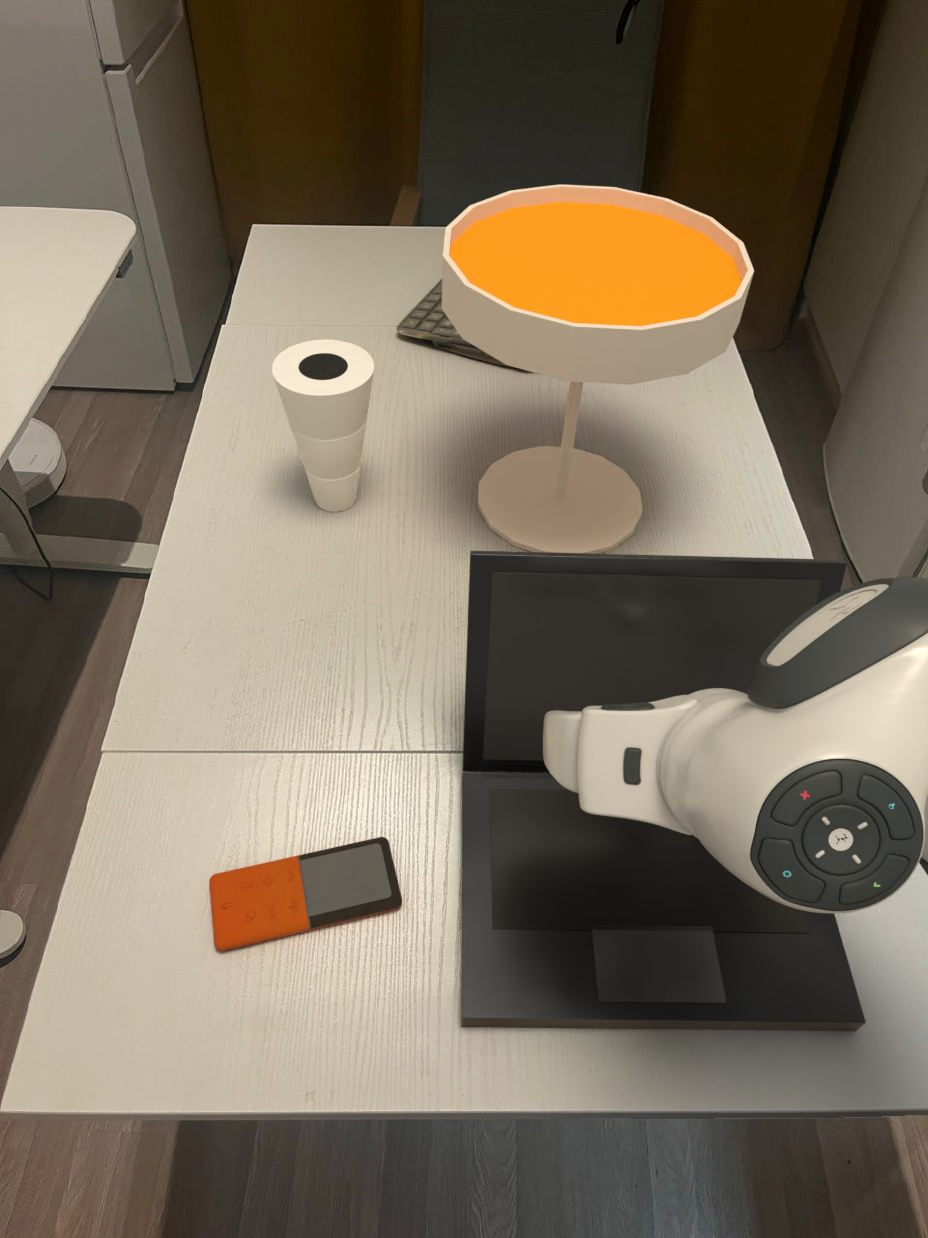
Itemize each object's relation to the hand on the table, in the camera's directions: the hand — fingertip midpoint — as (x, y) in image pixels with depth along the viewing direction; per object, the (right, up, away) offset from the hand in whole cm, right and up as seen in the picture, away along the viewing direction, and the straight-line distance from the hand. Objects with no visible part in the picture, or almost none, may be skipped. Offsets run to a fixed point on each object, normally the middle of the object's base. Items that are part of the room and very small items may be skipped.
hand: (667, 726), depth 68 cm
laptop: (-8, +56, +71) cm, 90 cm away
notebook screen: (0, +4, +8) cm, 8 cm away
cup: (-31, +22, +40) cm, 55 cm away
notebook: (-1, -15, +7) cm, 17 cm away
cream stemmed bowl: (-4, +22, +41) cm, 47 cm away
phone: (-28, -15, +6) cm, 33 cm away
